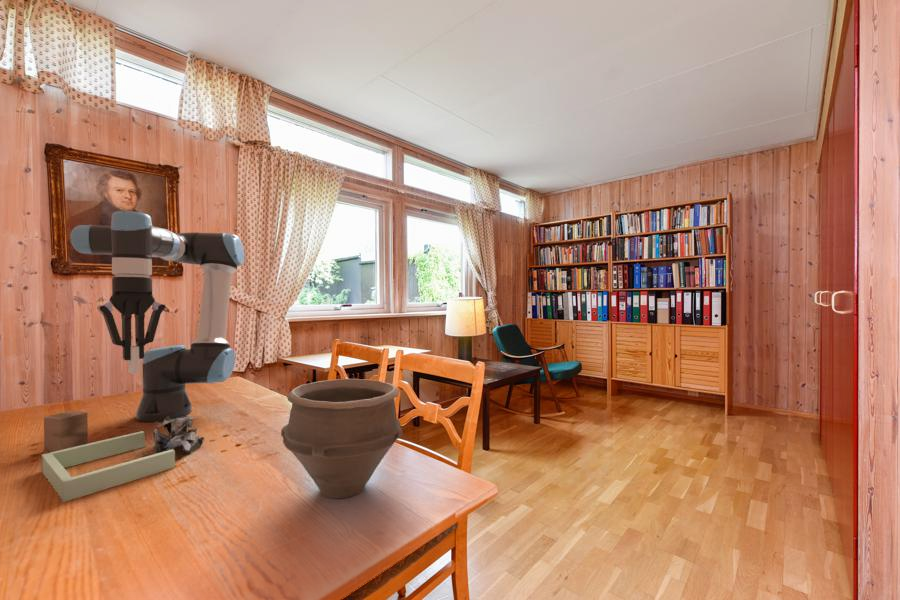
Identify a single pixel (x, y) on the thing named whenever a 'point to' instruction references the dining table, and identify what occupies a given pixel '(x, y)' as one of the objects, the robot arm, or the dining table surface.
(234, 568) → the dining table surface
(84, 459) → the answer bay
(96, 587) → the dining table surface
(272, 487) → the dining table surface
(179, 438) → the grey crumpled lump
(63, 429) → the walnut block
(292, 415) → the planter
